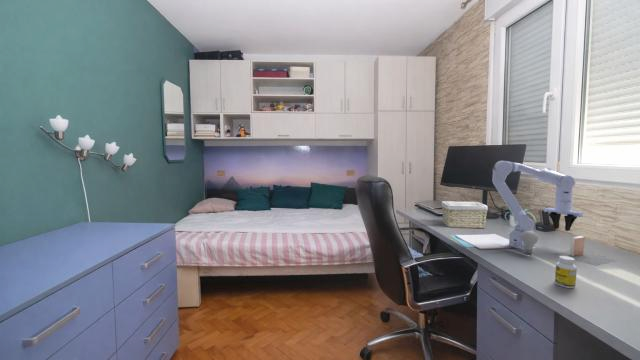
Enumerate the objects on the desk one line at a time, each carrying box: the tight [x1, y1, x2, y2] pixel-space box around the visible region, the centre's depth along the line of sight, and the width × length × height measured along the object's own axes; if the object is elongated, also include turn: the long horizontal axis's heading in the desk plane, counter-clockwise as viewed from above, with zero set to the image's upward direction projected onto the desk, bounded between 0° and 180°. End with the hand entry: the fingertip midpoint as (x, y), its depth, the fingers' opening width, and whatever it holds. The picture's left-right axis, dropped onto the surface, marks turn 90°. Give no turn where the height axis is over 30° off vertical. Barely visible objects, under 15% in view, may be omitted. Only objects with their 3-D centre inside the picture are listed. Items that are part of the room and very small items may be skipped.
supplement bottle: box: [554, 255, 578, 289], centre depth 97 cm, size 5×5×10 cm
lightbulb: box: [521, 231, 539, 255], centre depth 128 cm, size 6×6×11 cm
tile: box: [569, 235, 586, 256], centre depth 126 cm, size 7×2×8 cm, turn 111°
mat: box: [554, 250, 618, 266], centre depth 123 cm, size 16×15×1 cm
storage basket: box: [441, 200, 489, 229], centre depth 181 cm, size 24×16×15 cm
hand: (561, 229), depth 132 cm, fingers open, 4 cm apart
